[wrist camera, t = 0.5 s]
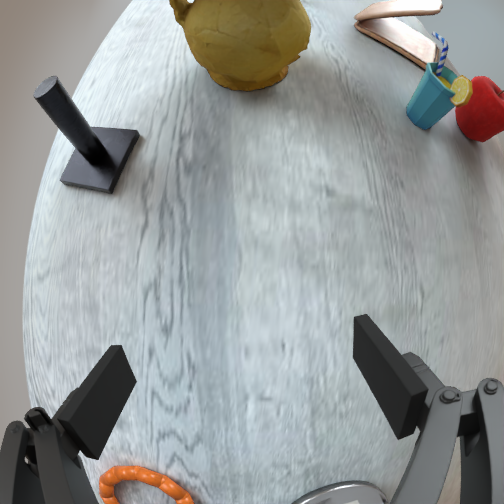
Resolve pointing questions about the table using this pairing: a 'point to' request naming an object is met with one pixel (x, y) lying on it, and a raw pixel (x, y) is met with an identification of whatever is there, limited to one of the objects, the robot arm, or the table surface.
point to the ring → (144, 476)
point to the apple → (482, 111)
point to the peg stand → (86, 141)
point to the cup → (438, 92)
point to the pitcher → (244, 38)
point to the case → (400, 27)
